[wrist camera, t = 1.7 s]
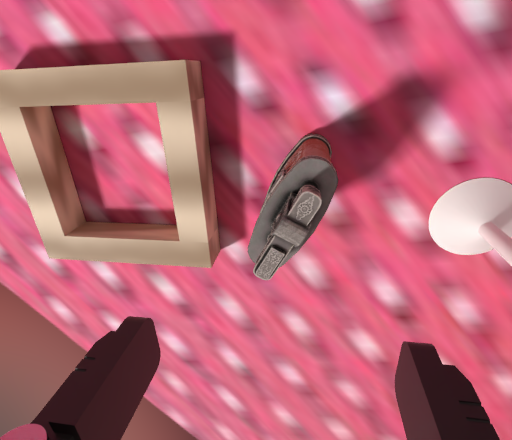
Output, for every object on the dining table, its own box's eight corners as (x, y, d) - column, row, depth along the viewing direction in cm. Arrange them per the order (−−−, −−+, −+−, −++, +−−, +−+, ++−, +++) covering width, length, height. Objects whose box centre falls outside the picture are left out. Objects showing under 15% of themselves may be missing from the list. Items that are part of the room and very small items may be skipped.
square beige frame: (12, 71, 25) (-23, 71, 23) (200, 60, 23) (185, 59, 20) (71, 242, 32) (49, 258, 29) (220, 249, 29) (211, 267, 27)
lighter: (302, 124, 23) (296, 158, 15) (341, 146, 24) (358, 193, 15) (255, 208, 27) (227, 276, 18) (289, 227, 27) (277, 303, 18)
